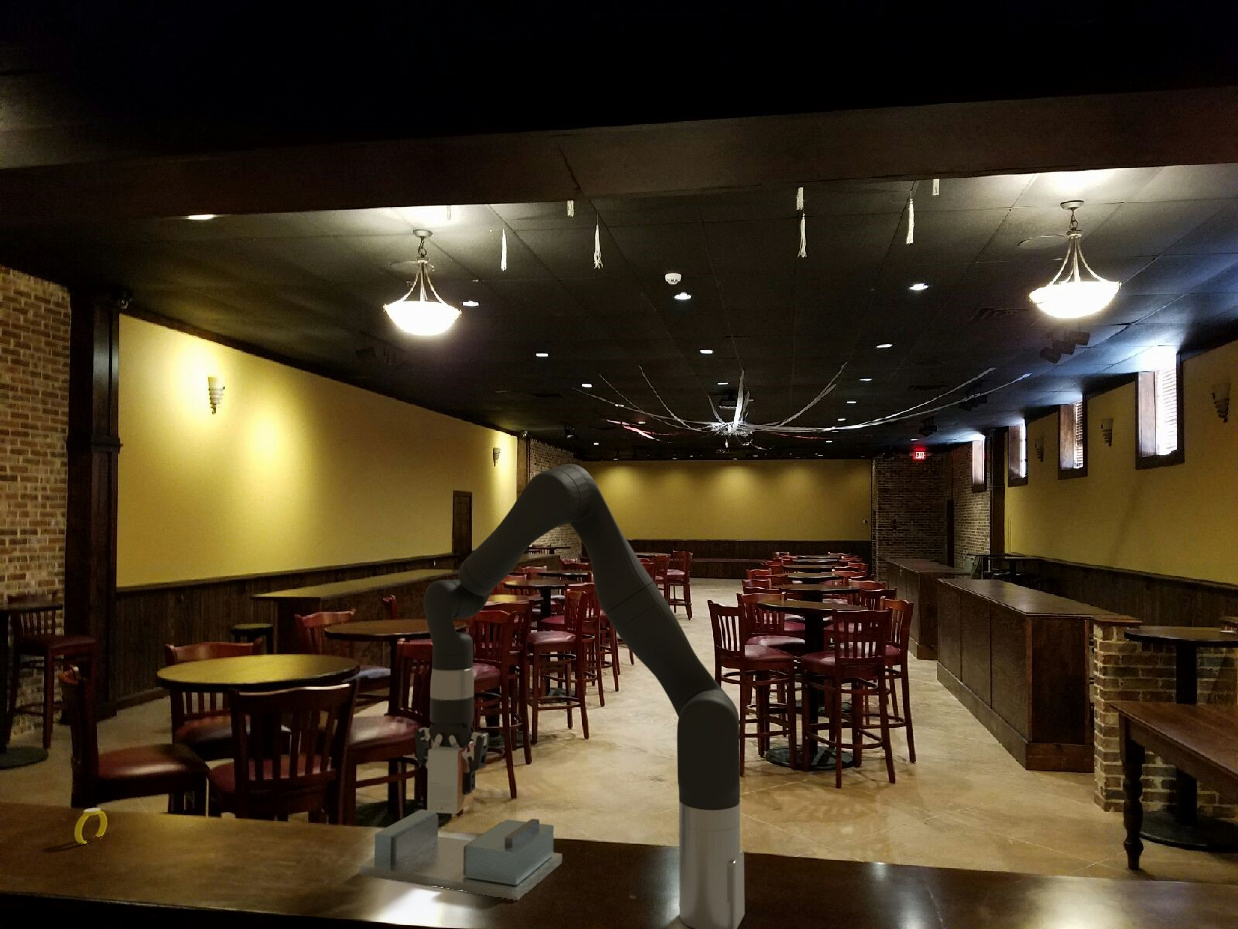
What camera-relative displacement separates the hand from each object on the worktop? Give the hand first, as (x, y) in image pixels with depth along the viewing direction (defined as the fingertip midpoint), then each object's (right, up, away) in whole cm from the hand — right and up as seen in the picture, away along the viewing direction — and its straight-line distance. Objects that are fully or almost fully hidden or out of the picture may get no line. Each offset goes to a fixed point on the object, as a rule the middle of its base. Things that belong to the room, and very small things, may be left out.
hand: (450, 791), depth 153 cm
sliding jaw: (+11, -11, -5) cm, 16 cm away
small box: (0, -3, 0) cm, 3 cm away
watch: (-70, -14, +11) cm, 72 cm away
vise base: (+3, -13, -2) cm, 13 cm away
